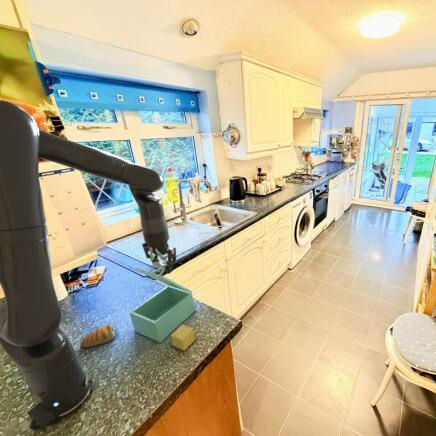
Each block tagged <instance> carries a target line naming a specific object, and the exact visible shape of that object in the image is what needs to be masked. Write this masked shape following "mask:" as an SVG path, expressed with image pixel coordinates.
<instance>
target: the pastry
mask: <svg viewBox="0 0 436 436" xmlns="http://www.w3.org/2000/svg"><path fill="white" fill-rule="evenodd" d="M115 330H116V329H115V326H114V325H113V324H112V323H109V324H106V325H103V326H100V327H98V328H97V329H95V330H93V331H92V332H90V333H88V334H87V335H85V336H84V337H82V339H81V341H80V346H82V347H84V348H90V347H95V346H98V345H99V346H100V345H102V344H105V343H107V342H110V341H112V340H114V339H115V337H116V332H115Z"/></svg>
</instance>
